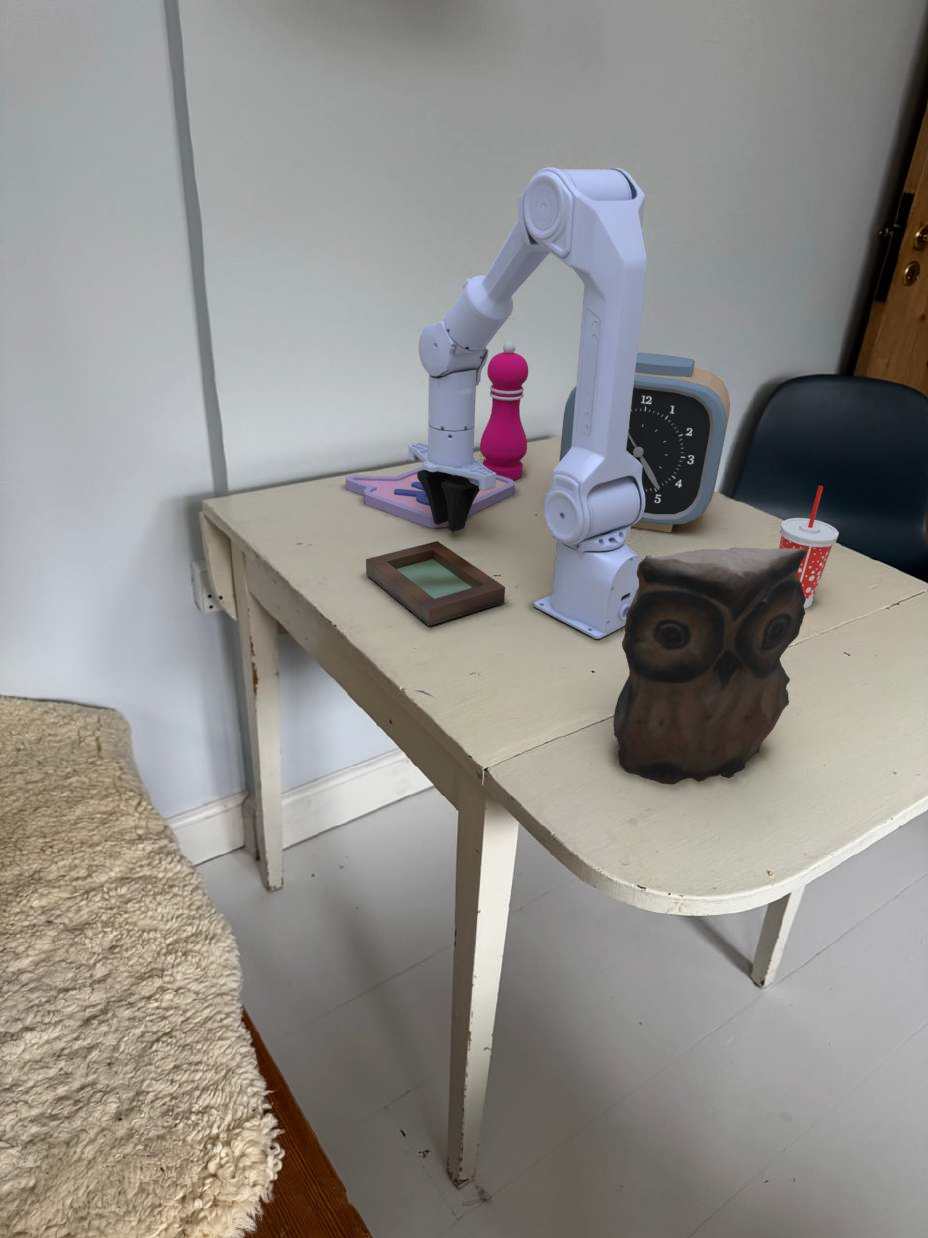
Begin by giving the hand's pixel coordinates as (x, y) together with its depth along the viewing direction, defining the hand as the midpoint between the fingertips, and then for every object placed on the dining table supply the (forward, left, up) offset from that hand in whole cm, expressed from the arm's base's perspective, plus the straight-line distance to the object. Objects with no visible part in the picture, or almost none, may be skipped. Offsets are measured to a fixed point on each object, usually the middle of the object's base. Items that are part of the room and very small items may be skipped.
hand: (449, 525), depth 110 cm
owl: (-46, +13, -1) cm, 48 cm away
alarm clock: (-12, -24, -1) cm, 27 cm away
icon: (+13, -7, -1) cm, 15 cm away
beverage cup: (-39, -19, -1) cm, 43 cm away
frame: (-11, +12, -1) cm, 16 cm away
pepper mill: (+11, -21, -1) cm, 24 cm away
